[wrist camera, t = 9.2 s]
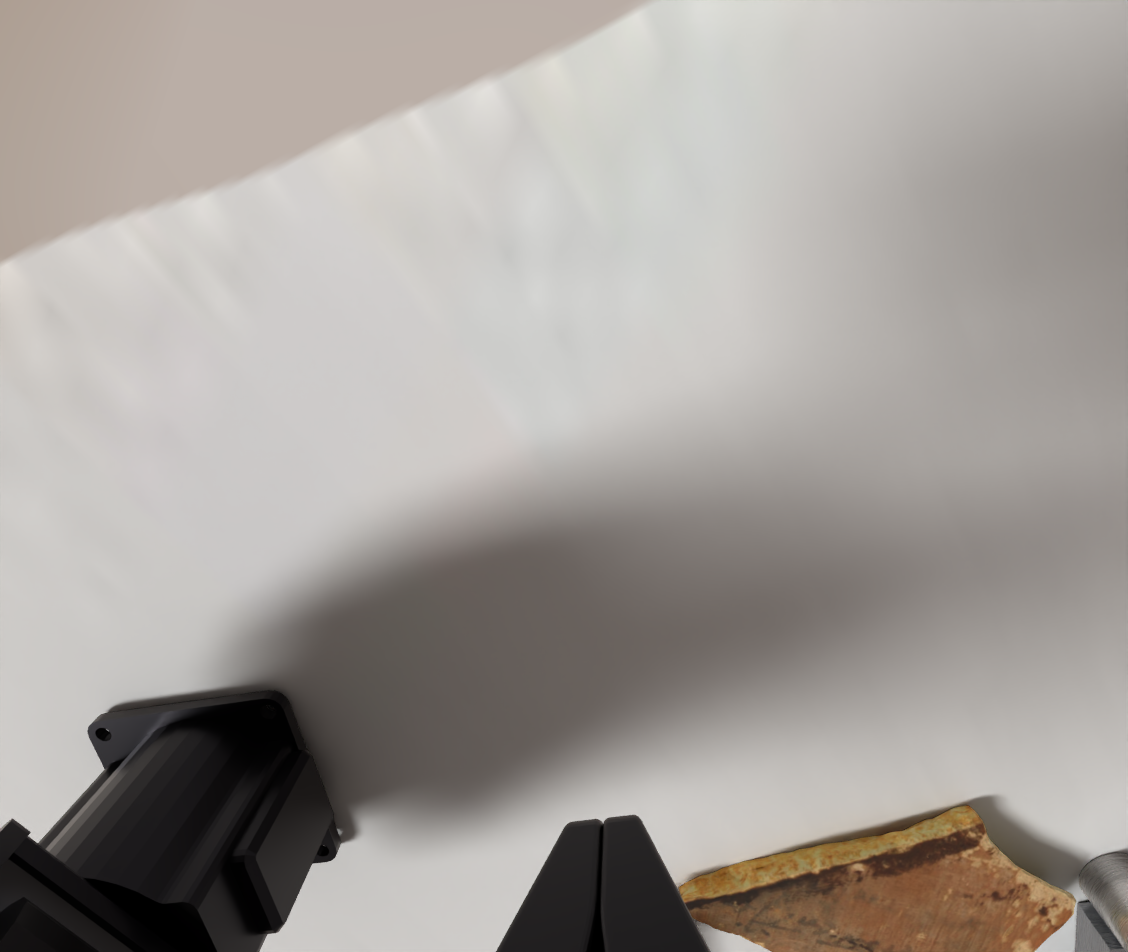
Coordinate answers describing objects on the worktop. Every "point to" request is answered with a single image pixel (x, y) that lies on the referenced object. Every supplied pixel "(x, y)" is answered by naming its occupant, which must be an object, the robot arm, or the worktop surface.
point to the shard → (886, 895)
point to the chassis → (1104, 905)
